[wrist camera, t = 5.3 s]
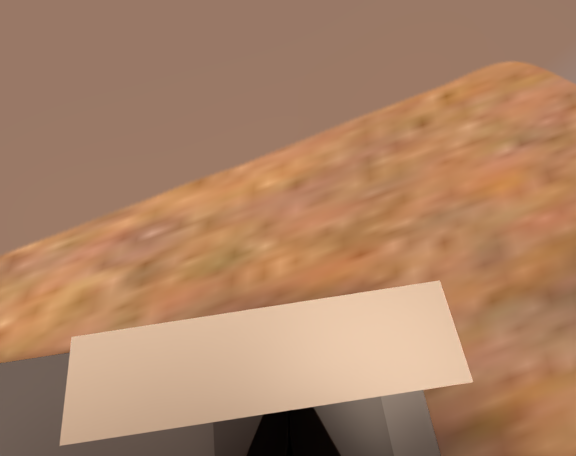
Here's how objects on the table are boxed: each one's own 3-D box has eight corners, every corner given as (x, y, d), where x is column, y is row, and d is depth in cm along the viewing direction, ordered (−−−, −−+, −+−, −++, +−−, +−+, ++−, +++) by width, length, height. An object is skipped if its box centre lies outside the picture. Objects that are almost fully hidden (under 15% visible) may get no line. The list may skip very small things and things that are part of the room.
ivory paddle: (372, 392, 13) (493, 443, 4) (219, 416, 13) (51, 511, 4) (355, 314, 14) (425, 237, 6) (215, 335, 14) (77, 290, 6)
